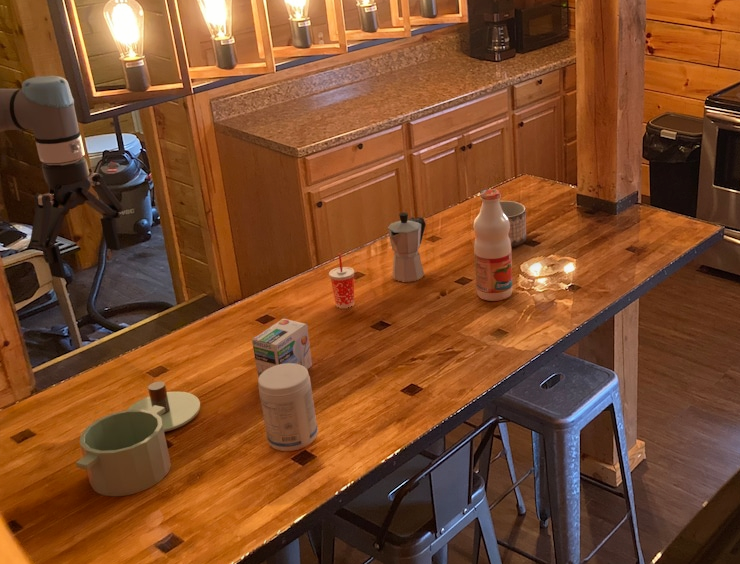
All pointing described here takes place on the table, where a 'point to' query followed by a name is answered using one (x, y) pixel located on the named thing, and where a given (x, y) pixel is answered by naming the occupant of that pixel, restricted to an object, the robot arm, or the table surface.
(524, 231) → the planter
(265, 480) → the table surface
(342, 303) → the beverage cup
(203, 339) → the table surface
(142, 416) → the pale green cooking pot
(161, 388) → the green pot lid
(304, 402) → the supplement tub
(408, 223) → the coffee maker
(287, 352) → the light bulb box
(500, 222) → the fruit juice
